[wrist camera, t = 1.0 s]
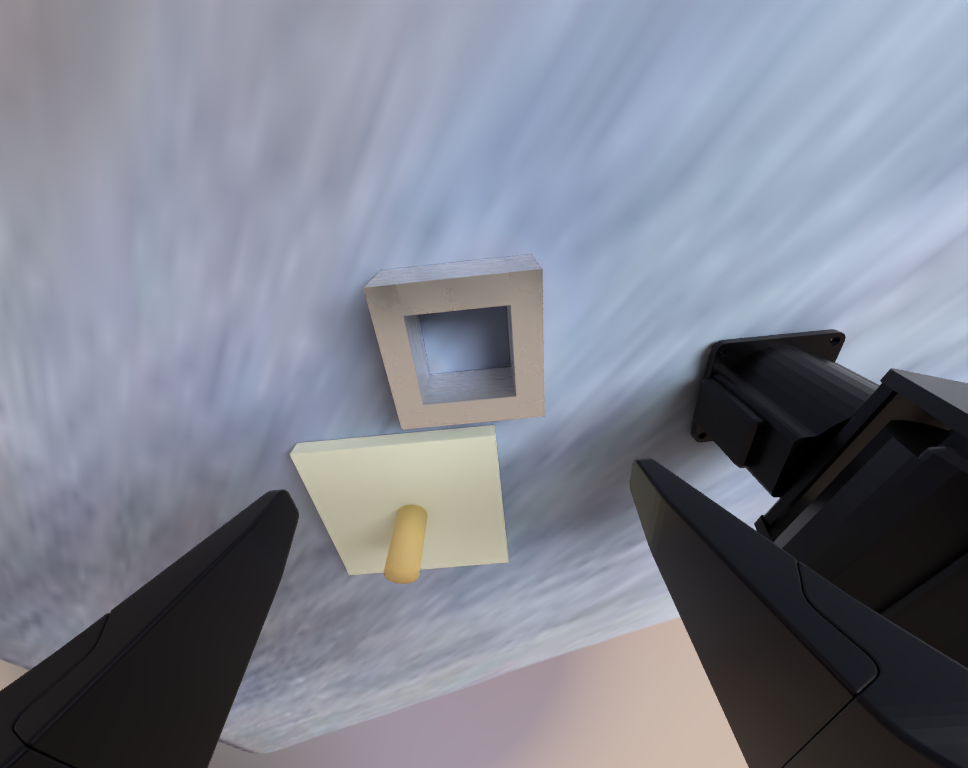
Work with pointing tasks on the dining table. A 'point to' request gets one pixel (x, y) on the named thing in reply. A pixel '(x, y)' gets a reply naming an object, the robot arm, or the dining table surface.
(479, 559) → the keeper
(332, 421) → the dining table surface
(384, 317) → the link
